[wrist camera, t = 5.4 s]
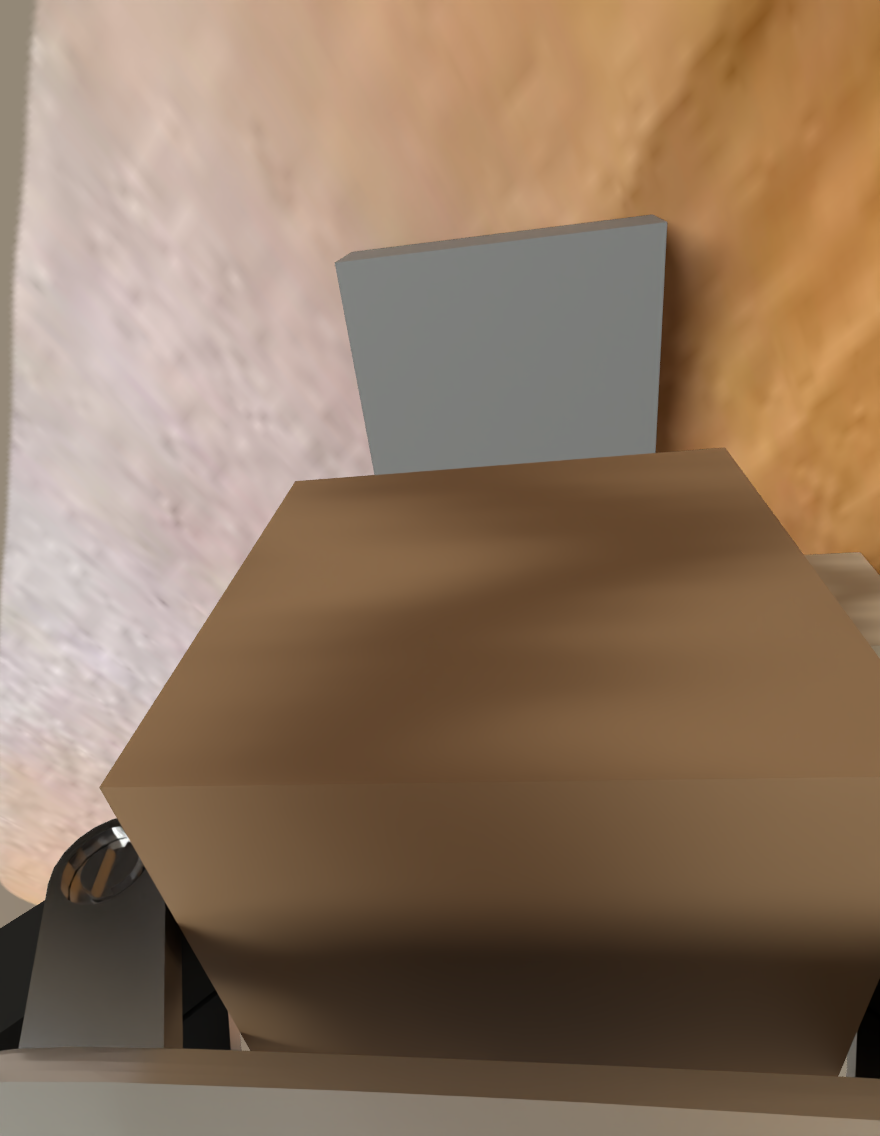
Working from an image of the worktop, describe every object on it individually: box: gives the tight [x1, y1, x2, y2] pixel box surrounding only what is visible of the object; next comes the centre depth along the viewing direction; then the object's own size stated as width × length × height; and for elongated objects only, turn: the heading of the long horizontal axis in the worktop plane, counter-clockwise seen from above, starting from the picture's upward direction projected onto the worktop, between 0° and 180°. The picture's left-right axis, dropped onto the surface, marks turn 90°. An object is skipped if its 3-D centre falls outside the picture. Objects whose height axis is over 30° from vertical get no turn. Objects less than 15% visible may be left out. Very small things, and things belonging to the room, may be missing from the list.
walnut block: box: [99, 448, 880, 1077], centre depth 9 cm, size 6×6×6 cm
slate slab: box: [335, 215, 667, 475], centre depth 24 cm, size 10×10×2 cm
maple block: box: [804, 552, 880, 658], centre depth 26 cm, size 6×6×6 cm
